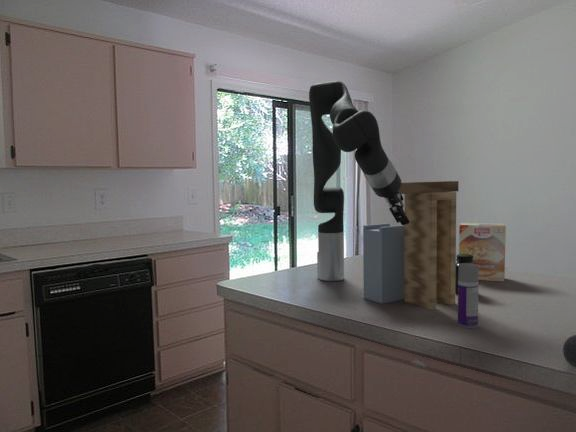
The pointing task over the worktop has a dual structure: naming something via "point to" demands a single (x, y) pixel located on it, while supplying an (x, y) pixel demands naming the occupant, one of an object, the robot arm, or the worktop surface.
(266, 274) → the worktop surface
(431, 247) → the slotted wooden post
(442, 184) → the rail
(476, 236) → the coffeecake box
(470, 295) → the container
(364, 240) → the tall grey pillar
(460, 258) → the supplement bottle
